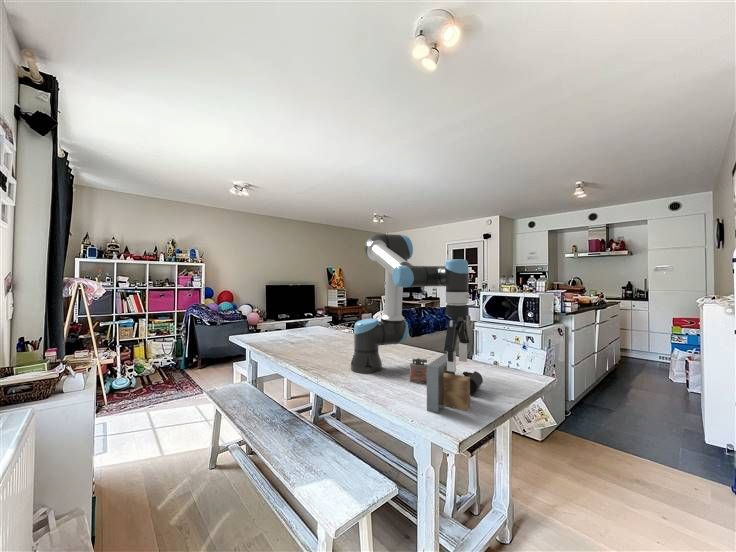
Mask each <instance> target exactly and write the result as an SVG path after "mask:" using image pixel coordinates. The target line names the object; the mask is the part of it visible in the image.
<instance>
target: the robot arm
mask: <svg viewBox="0 0 736 552" xmlns="http://www.w3.org/2000/svg"><path fill="white" fill-rule="evenodd" d="M364 253H365V255H366V257H368V259H370V260H371V261H373V262H377V263H378V264H379V265H381V266H382V267H383V268H384V269H385V287H384V288H385V289H384V311H383V312H384V313H383V314H382V315H381V316H380V321H379V320H378V318H365V319H360V320H357V321H356V322H355V323H354V326H353V327H354V329H353V338H354V339H353V340H354V341H353V349H354V350H353V352H354V353H353V356H352V359H351V362H350V370H351V371H353V372H355V373H361V374H371V373H378V372H380V371H381V370H382V369H383V364H382V360H381V357H380V353H379V347H380V346H388V345H389V346H391V345H400V344H403V343H405V341H406V340H407V338H408V336H409V324H408V322H407V321H406V320H405V316H403V313H402V312H403V296H404V295H403V294H404V293H403V291H404V288H414V287H415V288H416V287H421V288H422V287H445V303H446V305H445V315H446V316H447V317H450V318H451V319H448V320H447V326H446V328H447V329H446V334H445V341H444V347H443V351H444V352H446V354H447V371H452V372H455V373H456V371H457V363H456V362H457V354H456V353H457V351H456V345H457V341H458V340H459V343H458V362H464V363H467V362H468V344H470V340H469V333H468V325H467V317H468V316H469V310H470V307H469V305H468V304H469V298H470V297H471V295H470V294H469V273H470V270H469V262H468V261H467V259H464V258H463V259H455V258H454V259H447V260H446V261H445V265H413V264H412V263H410V262H409V261H408V260H410V259H411V258H412V256H413V254H414V246H413V243H412V240H411V238H410V237H409V236H408V235H405V234H404V235H403V234H389V233H387V234H384V233H376V234H373V235H371V236H370V237H369V238H367V240H366V241H365V243H364Z"/></svg>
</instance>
